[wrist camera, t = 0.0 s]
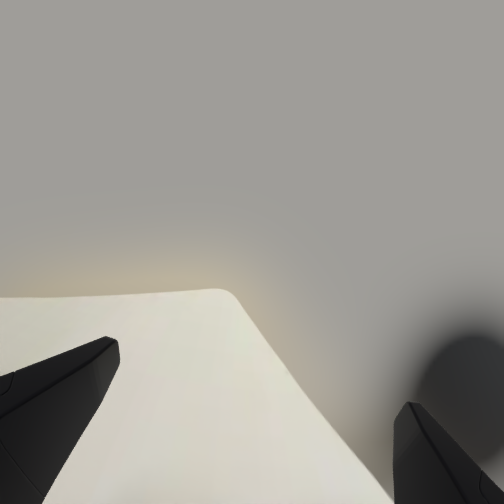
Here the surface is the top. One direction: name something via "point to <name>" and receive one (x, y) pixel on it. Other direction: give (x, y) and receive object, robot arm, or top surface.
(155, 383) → the top surface
